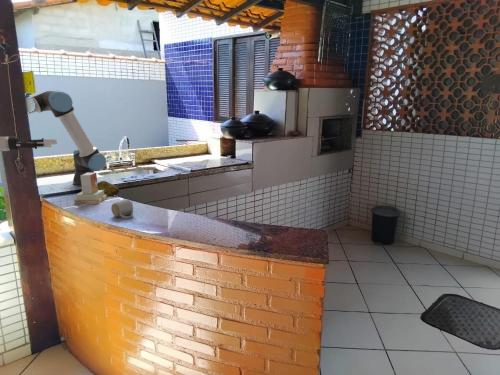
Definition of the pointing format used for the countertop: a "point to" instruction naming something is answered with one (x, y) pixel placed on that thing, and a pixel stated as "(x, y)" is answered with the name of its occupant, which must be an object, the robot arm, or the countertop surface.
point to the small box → (89, 183)
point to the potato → (108, 188)
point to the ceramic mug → (122, 209)
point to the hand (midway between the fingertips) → (53, 143)
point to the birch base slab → (91, 201)
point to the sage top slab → (90, 195)
